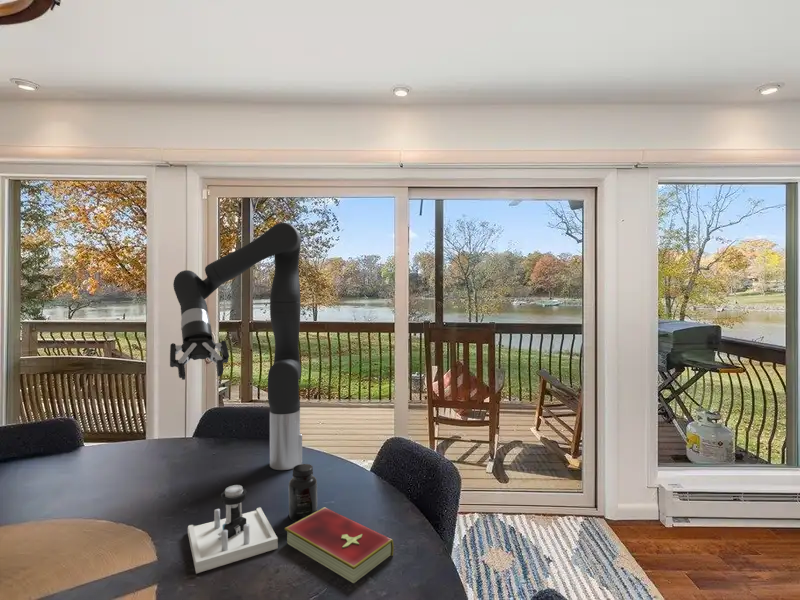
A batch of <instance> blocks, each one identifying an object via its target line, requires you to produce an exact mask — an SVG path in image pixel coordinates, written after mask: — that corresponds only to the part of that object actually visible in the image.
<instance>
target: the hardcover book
mask: <svg viewBox="0 0 800 600" xmlns="http://www.w3.org/2000/svg"><path fill="white" fill-rule="evenodd" d="M284 531H286V534H287V535H286V540H287V541H286V544H287V545H289V546H290V547H292V548H294V549H295V550H297V551H299V552H300V553H302V554H304V555H306V556H307V557H308V558H310V559H312V560H314V561H315V562H318V563H319V564H320V565H322V566H324V567H325V568H328V569H329V570H331V572H334V573H336V574H337V575H339V576H340V577H342V578H344V579H345V580H347V581H348V582H351V583H352V584H355V583H356V582H358V581H359V580H361V579H362V578H363V577H365V575H367V574H368V573H369V572H371V571H372V570H373V569H375V568H376V567H377V566H378V565H380V564H381V563H383V562H384V561H386V560H387V559H388V558H389V557H390V556H391V557H393V556H394V549H395V548H394V540H393V539H392V538H389V537H388V536H386V535H384V534H382V533H380V532H378V531H375V530H374V529H371V528H369V527H367V526H365V525H363V524H361V523H359V522H357V521H354V520H352V519H351V518H348V517H346V516H344V515H341V514H340V513H338V512H335V511H333V510H332V509H330V508H327V507H321V508H320V509H317V511H316V512H314V513H312V514H311V515H309V516H307V517H305V518H303V519H301V520H299V521H297V522H295V521H294V522H293V523H292V524H290V525H288V526H286V527H284Z"/></svg>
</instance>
